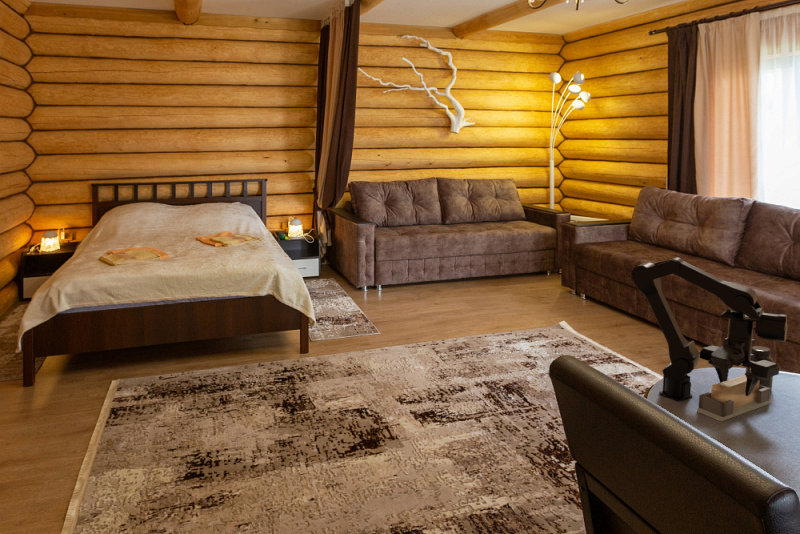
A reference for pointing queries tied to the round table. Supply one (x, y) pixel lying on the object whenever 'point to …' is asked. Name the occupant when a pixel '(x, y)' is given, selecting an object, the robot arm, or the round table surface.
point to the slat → (734, 391)
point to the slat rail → (731, 405)
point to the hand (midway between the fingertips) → (735, 391)
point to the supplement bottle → (759, 355)
